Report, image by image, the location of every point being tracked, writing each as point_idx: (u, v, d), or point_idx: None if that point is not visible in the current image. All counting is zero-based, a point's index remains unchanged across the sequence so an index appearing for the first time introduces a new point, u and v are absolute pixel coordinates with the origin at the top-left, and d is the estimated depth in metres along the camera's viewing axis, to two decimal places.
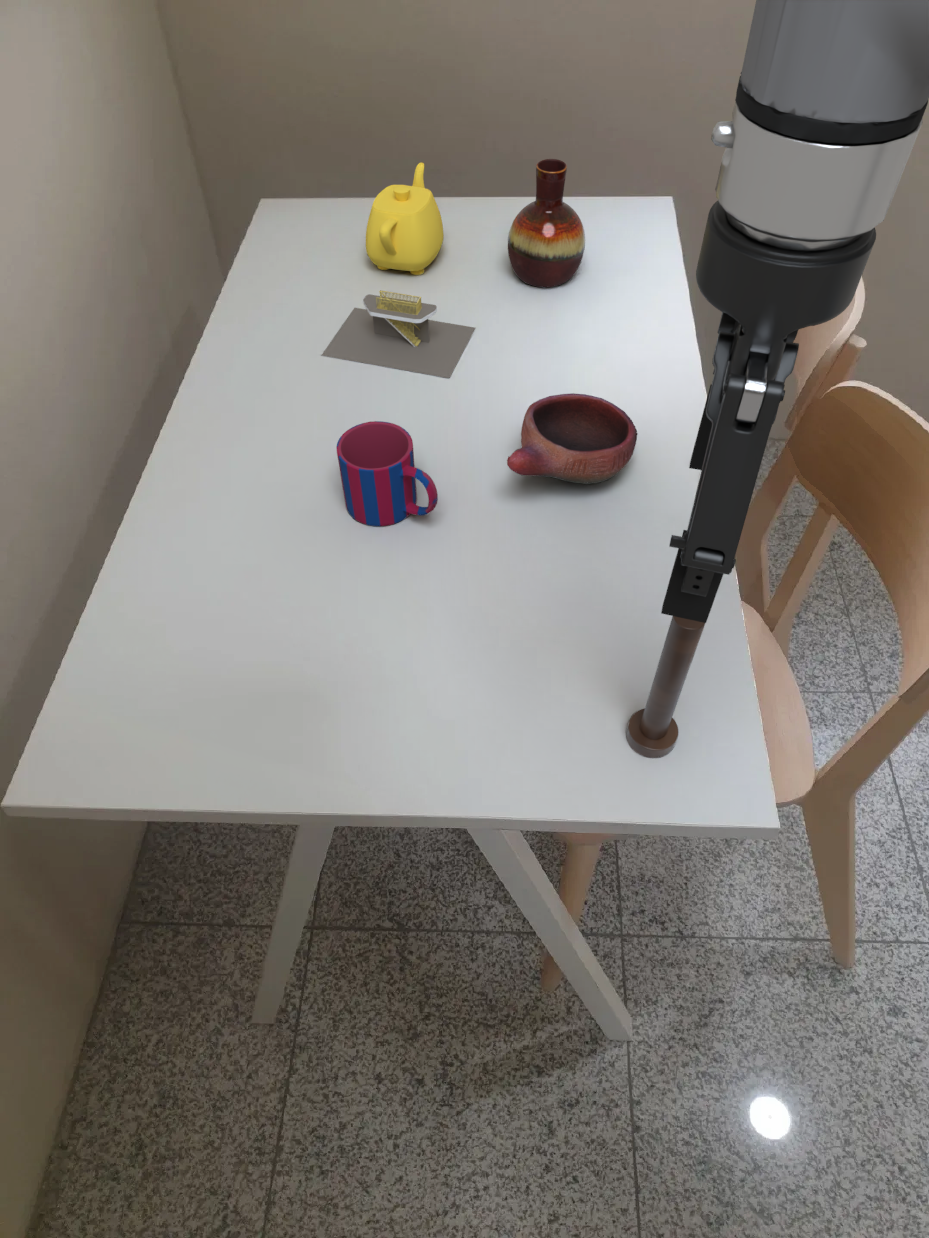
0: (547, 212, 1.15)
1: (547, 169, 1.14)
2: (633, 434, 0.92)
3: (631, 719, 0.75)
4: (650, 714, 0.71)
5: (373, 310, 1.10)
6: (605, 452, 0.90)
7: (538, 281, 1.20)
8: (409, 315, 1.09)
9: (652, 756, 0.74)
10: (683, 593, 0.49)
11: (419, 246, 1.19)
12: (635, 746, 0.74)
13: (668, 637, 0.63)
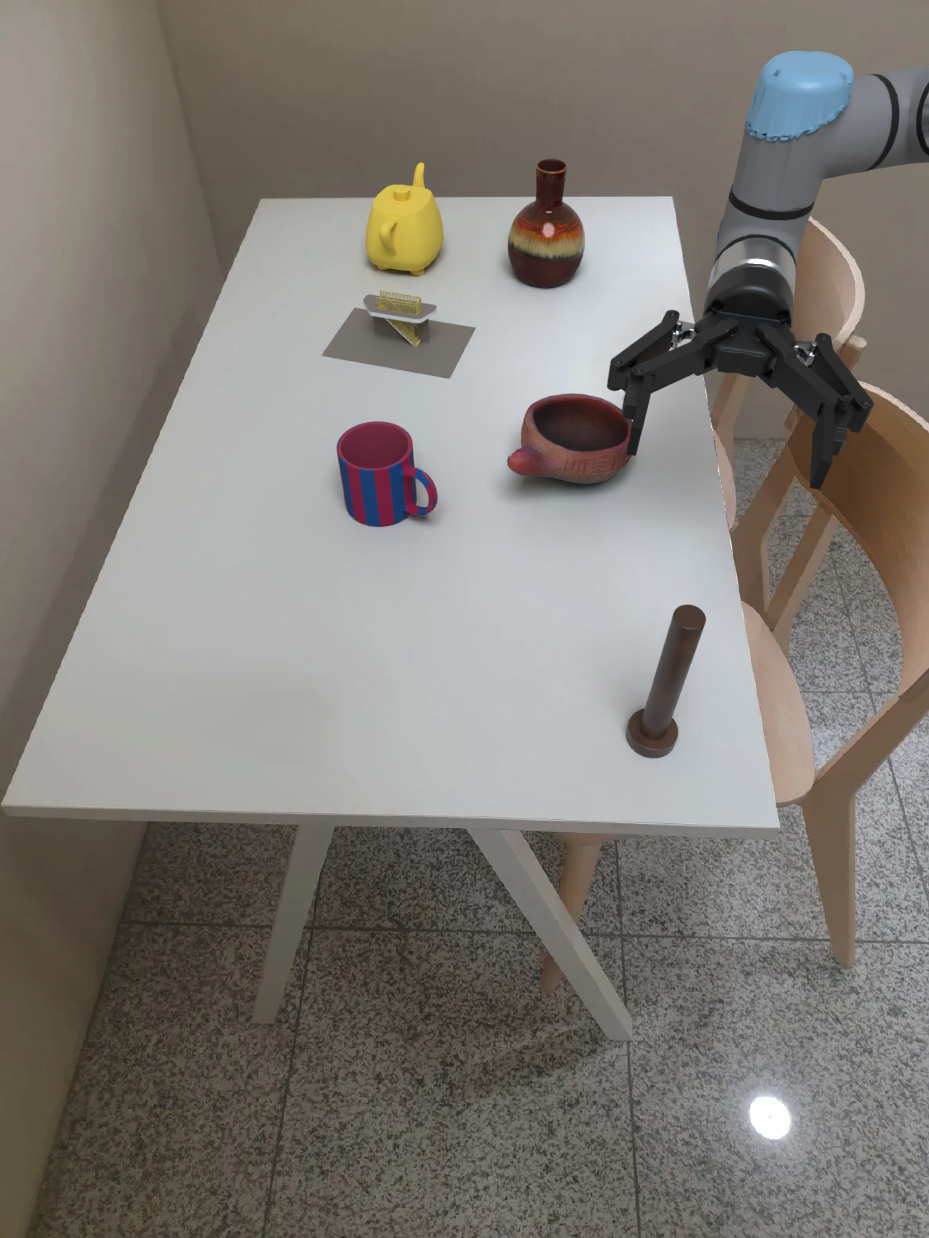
0: (547, 212, 1.15)
1: (547, 169, 1.14)
2: None
3: (631, 719, 0.75)
4: (650, 714, 0.71)
5: (373, 310, 1.10)
6: (605, 452, 0.90)
7: (538, 281, 1.20)
8: (409, 315, 1.09)
9: (652, 756, 0.74)
10: None
11: (419, 246, 1.19)
12: (635, 746, 0.74)
13: (668, 637, 0.63)
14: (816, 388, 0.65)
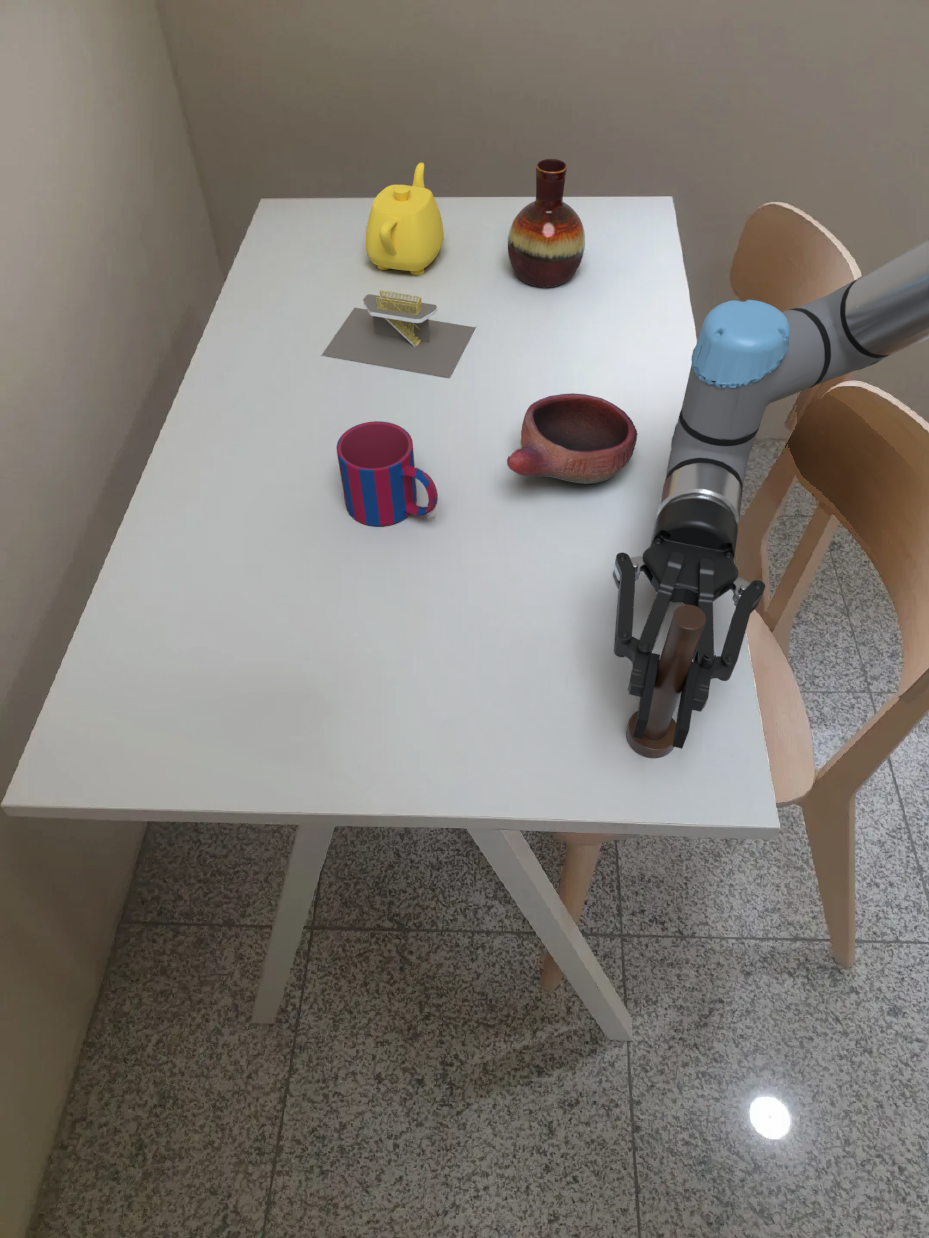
0: (547, 212, 1.15)
1: (547, 169, 1.14)
2: (633, 434, 0.92)
3: (631, 719, 0.75)
4: (650, 714, 0.71)
5: (373, 309, 1.10)
6: (605, 452, 0.90)
7: (538, 281, 1.20)
8: (409, 315, 1.09)
9: (652, 756, 0.74)
10: (639, 707, 0.67)
11: (419, 246, 1.19)
12: (635, 746, 0.74)
13: (668, 637, 0.63)
14: None
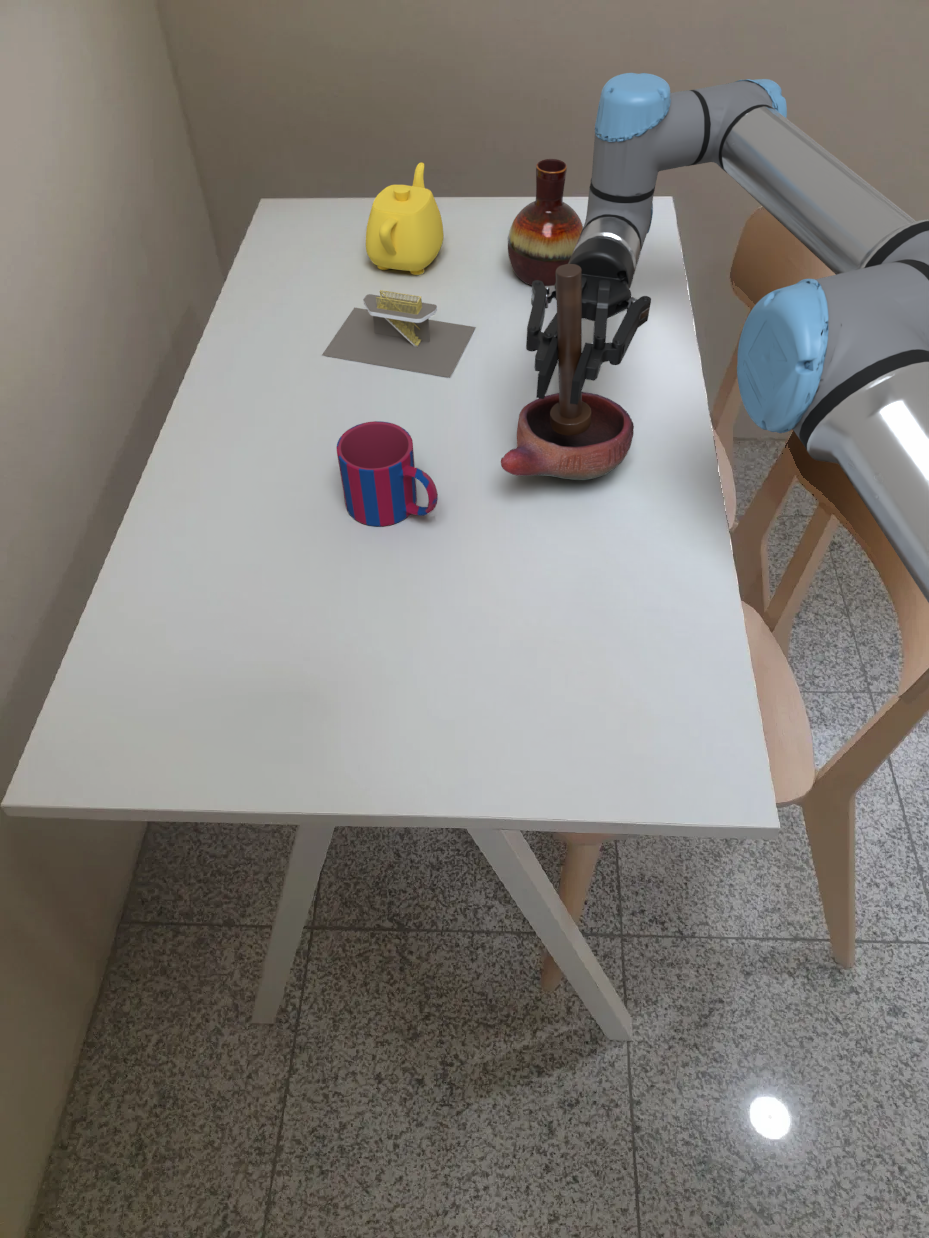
0: (547, 212, 1.15)
1: (547, 169, 1.14)
2: (628, 426, 0.92)
3: (553, 408, 0.91)
4: (561, 389, 0.87)
5: (373, 309, 1.10)
6: (599, 446, 0.89)
7: None
8: (409, 315, 1.09)
9: (570, 432, 0.90)
10: None
11: (419, 246, 1.19)
12: (556, 426, 0.90)
13: (556, 295, 0.80)
14: (595, 328, 0.86)
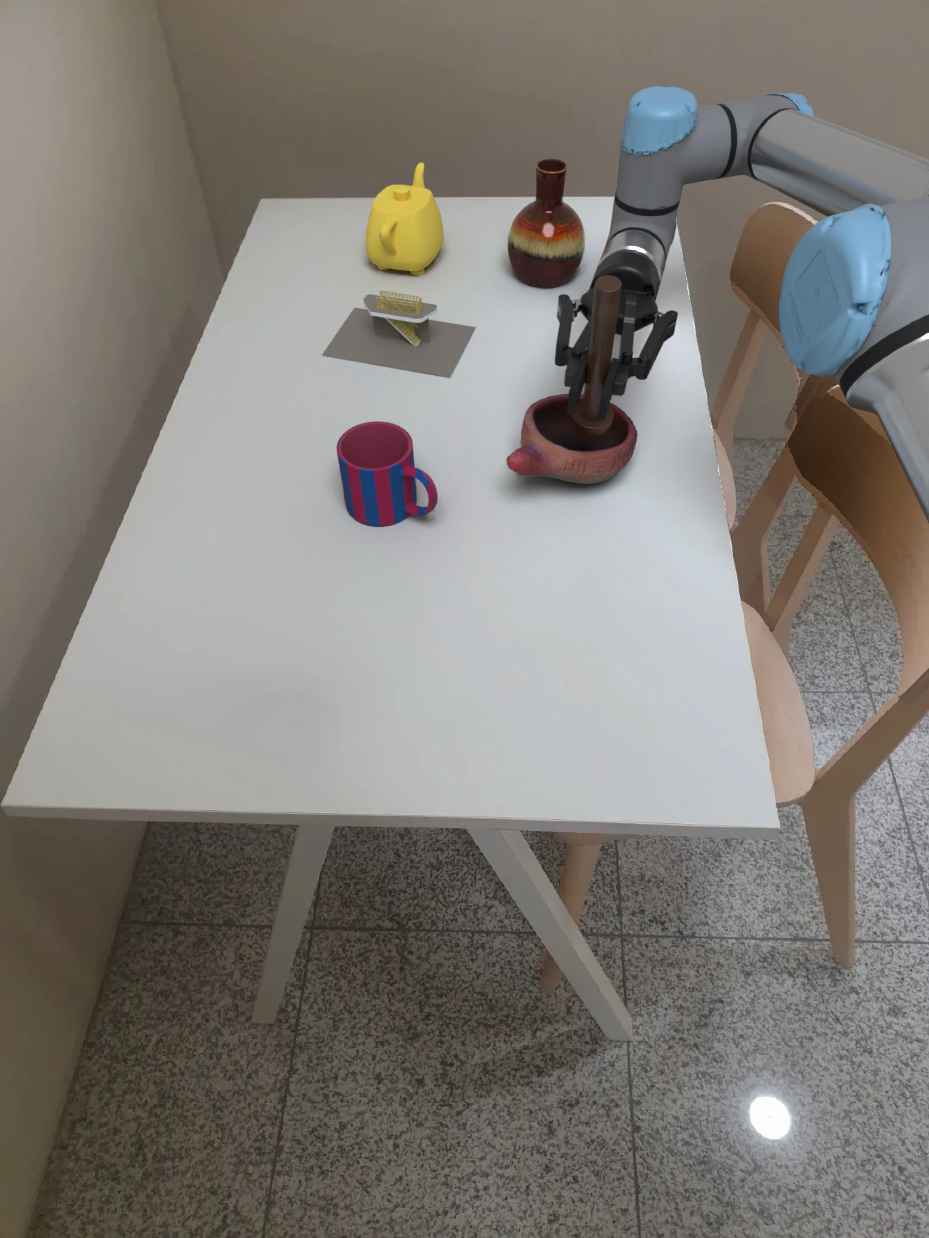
0: (547, 212, 1.15)
1: (547, 169, 1.14)
2: (633, 434, 0.92)
3: None
4: (587, 393, 0.86)
5: (373, 309, 1.10)
6: (605, 452, 0.90)
7: (538, 281, 1.20)
8: (409, 315, 1.09)
9: (591, 435, 0.89)
10: None
11: (419, 246, 1.19)
12: (577, 428, 0.90)
13: (593, 306, 0.78)
14: (622, 343, 0.86)
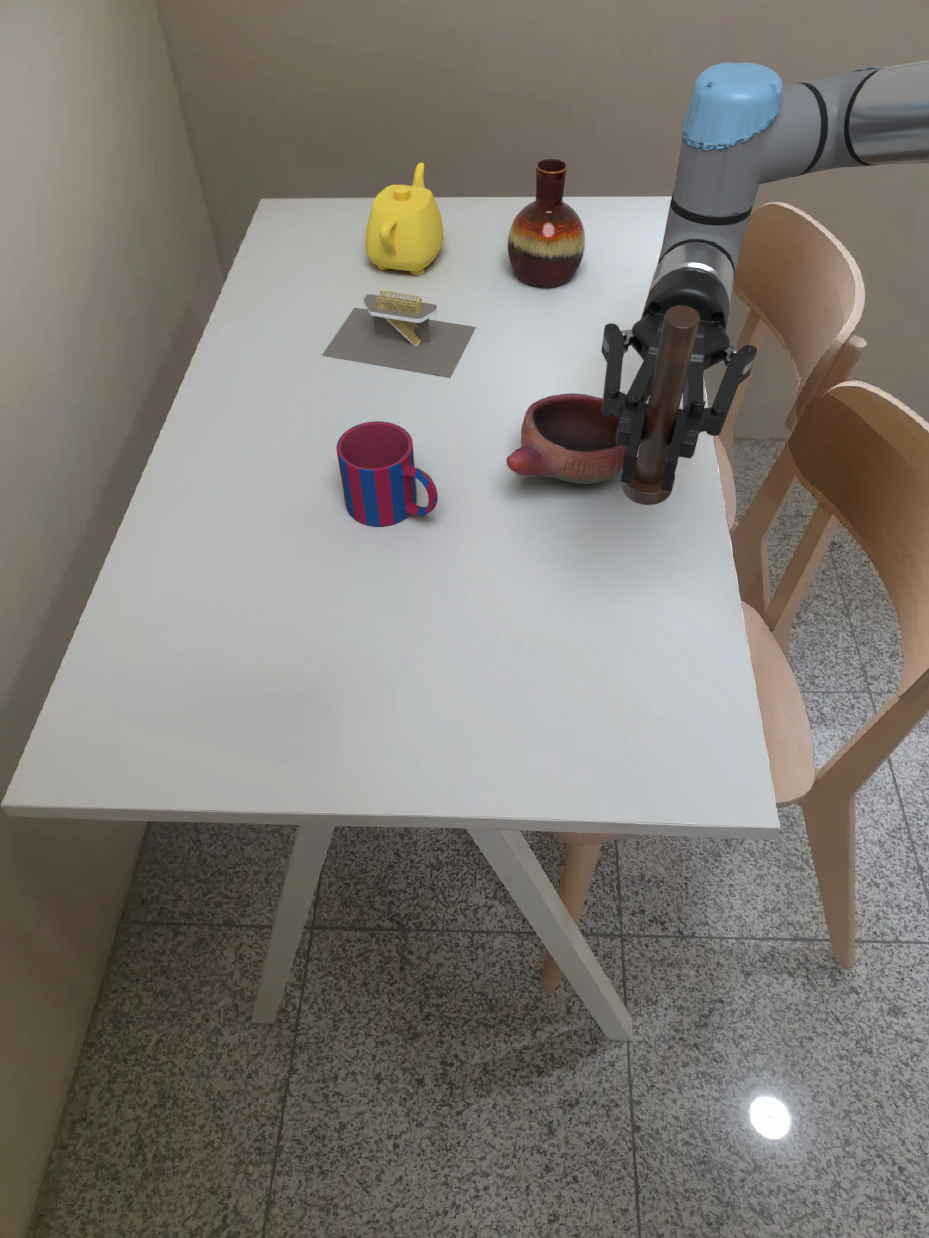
0: (547, 212, 1.15)
1: (547, 169, 1.14)
2: None
3: None
4: (644, 451, 0.68)
5: (373, 309, 1.10)
6: (605, 452, 0.90)
7: (538, 281, 1.20)
8: (409, 315, 1.09)
9: (647, 502, 0.71)
10: None
11: (419, 246, 1.19)
12: (629, 492, 0.71)
13: (660, 345, 0.59)
14: (689, 389, 0.67)
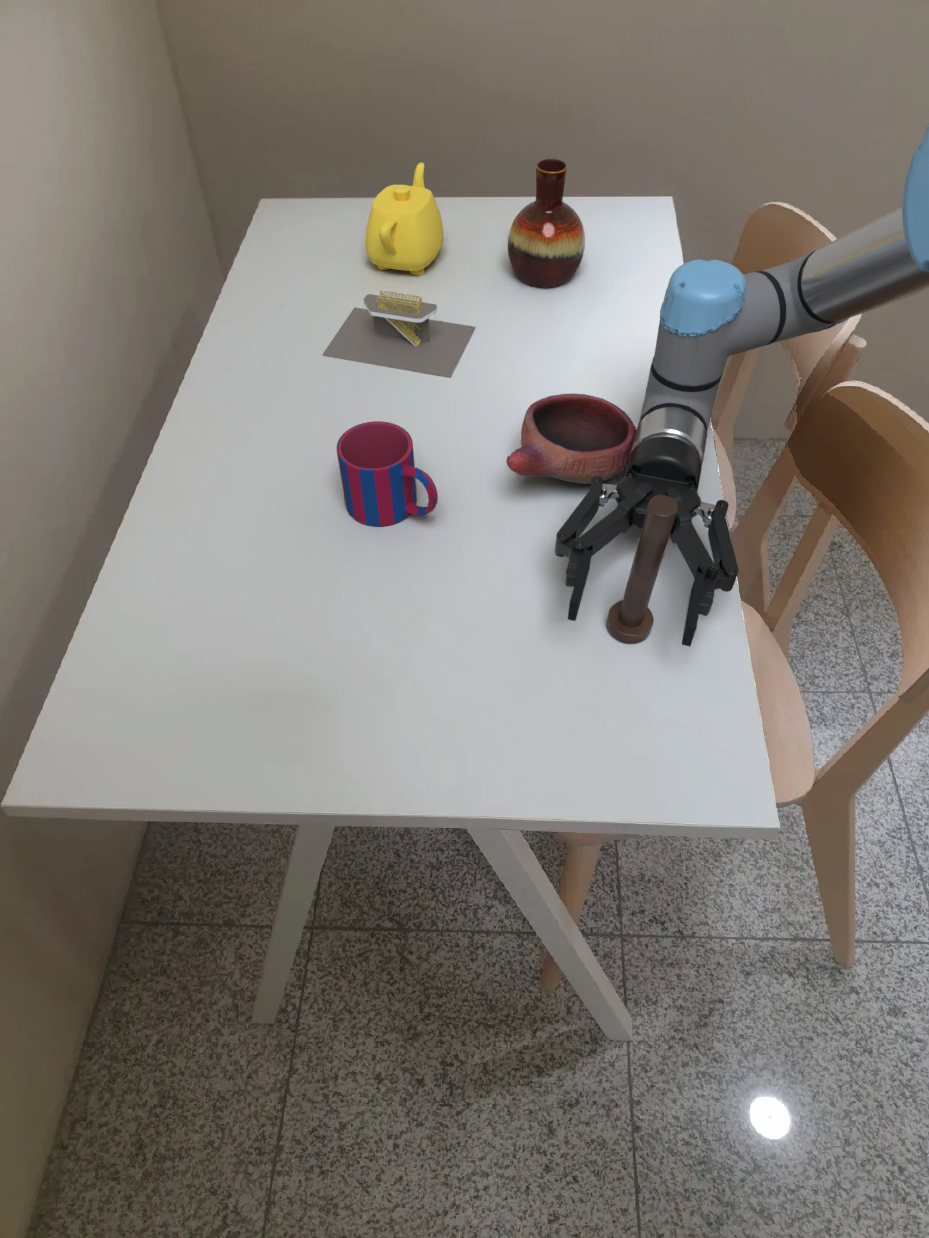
0: (547, 212, 1.15)
1: (547, 169, 1.14)
2: (633, 434, 0.92)
3: (611, 609, 0.83)
4: (628, 602, 0.79)
5: (373, 309, 1.10)
6: (605, 452, 0.90)
7: (538, 281, 1.20)
8: (410, 314, 1.09)
9: (629, 642, 0.82)
10: None
11: (419, 246, 1.19)
12: (614, 633, 0.82)
13: (644, 525, 0.71)
14: (696, 553, 0.78)
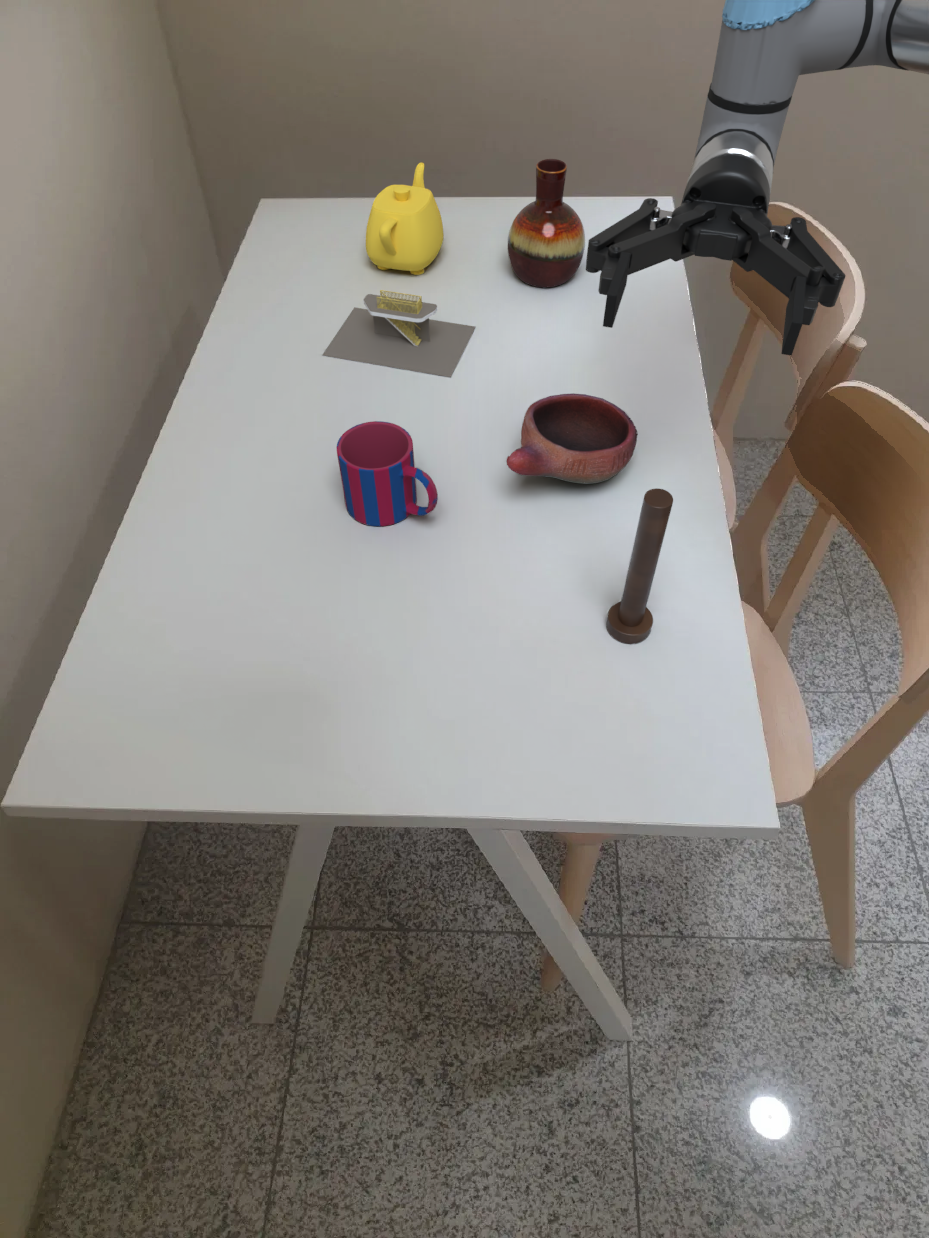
0: (547, 212, 1.15)
1: (547, 169, 1.14)
2: (633, 434, 0.92)
3: (610, 609, 0.83)
4: (626, 600, 0.79)
5: (373, 309, 1.10)
6: (605, 452, 0.90)
7: (538, 281, 1.20)
8: (410, 314, 1.09)
9: (629, 641, 0.82)
10: None
11: (419, 246, 1.19)
12: (613, 633, 0.82)
13: (640, 519, 0.71)
14: (789, 263, 0.66)
